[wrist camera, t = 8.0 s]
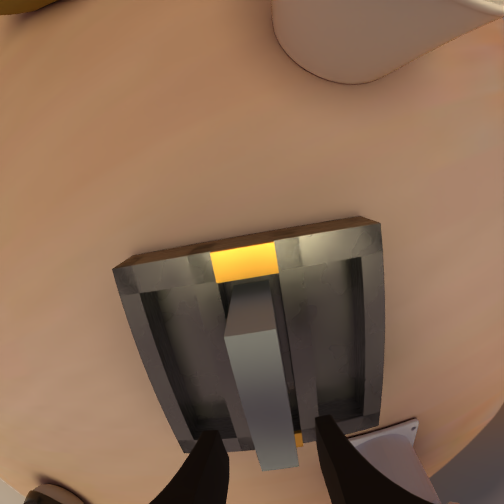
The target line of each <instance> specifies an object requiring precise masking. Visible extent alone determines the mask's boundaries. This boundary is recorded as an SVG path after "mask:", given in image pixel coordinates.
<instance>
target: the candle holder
mask: <svg viewBox="0 0 504 504" xmlns="http://www.w3.org/2000/svg"><path fill="white" fill-rule="evenodd" d="M271 12H272V24H273V29H274V32H275V35H276V38H277V40H278V42H279V43H280V45H281V47H282V48H283V49H284V51H285V52H286V53H287V54H288V55H289V57H290V58H291V59H293V60H294V61H295V62H296V63H297V64H298V65H300V66H301V67H302V68H304V69H305V70H307V71H309V72H311V73H312V74H314V75H316V76H319V77H321V78H324V79H326V80H330V81H333V82H338V83H344V84H362V83H368V82H372V81H375V80H378V79H380V78H382V77H384V76H386V75H388V74H390V73H392V72H394V71H395V70H397V69H399V68H401V67H403V66H404V65H406V64H408V63H410V62H412V61H414V60H415V59H417V58H419V57H421V56H423V55H425V54H427V53H429V52H430V51H432V50H434V49H436V48H438V47H440V46H442V45H444V44H446V43H448V42H450V41H452V40H454V39H456V38H458V37H460V36H462V35H464V34H467V33H469V32H471V31H473V30H475V29H477V28H479V27H482V26H484V25H486V24H488V23H491V22H493V21H495V20H498V19H500V18H503V17H504V0H271Z"/></svg>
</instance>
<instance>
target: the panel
mask: <svg viewBox="0 0 504 504" xmlns="http://www.w3.org/2000/svg"><path fill="white" fill-rule="evenodd" d="M224 340H225V344H226V347H227V351H228V355H229V359H230V363H231V366H232V370H233V374H234V378H235V381H236V385H237V388H238V392H239V396H240V399H241V403H242V406H243V410H244V413H245V417H246V420H247V423H248V427H249V430H250V434H251V437H252V440H253V443H254V447H255V450H256V453H257V456H258V460H259V463H260V466H261V469H262V471H269V470H277V469H284V468H291V467H298V466H299V463H298V456H297V449H296V443H295V436H294V429H293V422H292V415H291V409H290V402H289V396H288V390H287V384H286V378H285V372H284V366H283V360H282V354H281V348H280V342H279V336H278V330H277V324H276V319H275V313H274V307H273V301H272V295H271V290H270V284H269V280H264V281H258V282H252V283H246V284H240V285H234V286H233V291H232V296H231V302H230V307H229V312H228V317H227V323H226V328H225V333H224Z"/></svg>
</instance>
